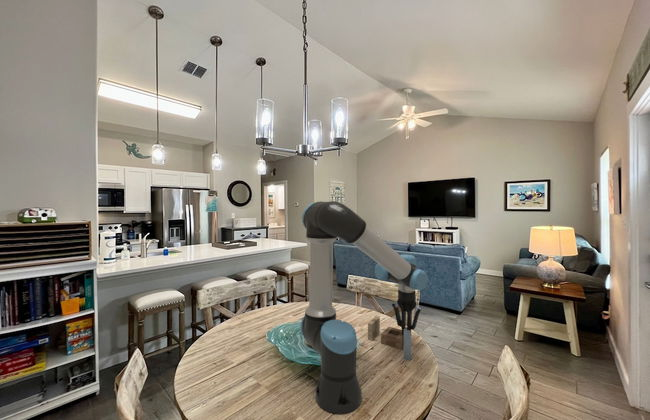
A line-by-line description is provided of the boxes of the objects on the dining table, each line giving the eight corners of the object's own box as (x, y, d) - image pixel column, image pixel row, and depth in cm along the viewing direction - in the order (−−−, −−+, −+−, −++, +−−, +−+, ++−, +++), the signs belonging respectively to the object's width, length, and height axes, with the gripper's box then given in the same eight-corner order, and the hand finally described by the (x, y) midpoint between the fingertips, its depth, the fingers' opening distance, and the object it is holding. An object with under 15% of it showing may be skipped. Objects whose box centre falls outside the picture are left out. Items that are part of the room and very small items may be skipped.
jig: (401, 352, 119) (401, 332, 119) (367, 341, 128) (367, 323, 128) (408, 343, 126) (408, 324, 126) (375, 334, 135) (375, 316, 135)
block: (400, 349, 119) (400, 339, 119) (381, 343, 124) (381, 333, 124) (407, 341, 127) (407, 331, 126) (388, 335, 132) (388, 326, 132)
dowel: (409, 363, 110) (410, 333, 110) (402, 361, 112) (402, 331, 112) (412, 360, 113) (412, 331, 113) (404, 357, 115) (405, 329, 114)
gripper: (424, 290, 121) (423, 343, 122) (395, 285, 129) (395, 335, 129) (419, 295, 115) (418, 351, 115) (389, 289, 122) (389, 342, 123)
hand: (406, 343), depth 122 cm, fingers closed
